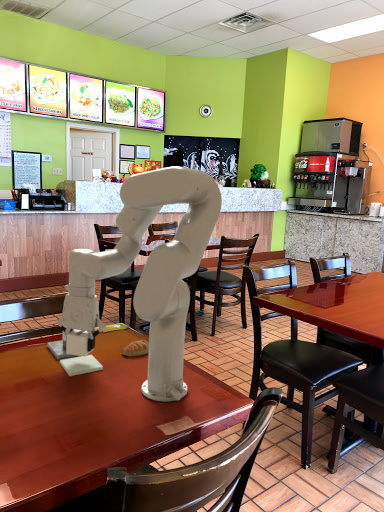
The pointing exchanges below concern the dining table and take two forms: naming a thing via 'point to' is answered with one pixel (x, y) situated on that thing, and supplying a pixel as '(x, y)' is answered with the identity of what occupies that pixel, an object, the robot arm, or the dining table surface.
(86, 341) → the white slotted cube
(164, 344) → the robot arm
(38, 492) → the dining table surface
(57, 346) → the post stand
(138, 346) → the pastry
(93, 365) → the coaster
